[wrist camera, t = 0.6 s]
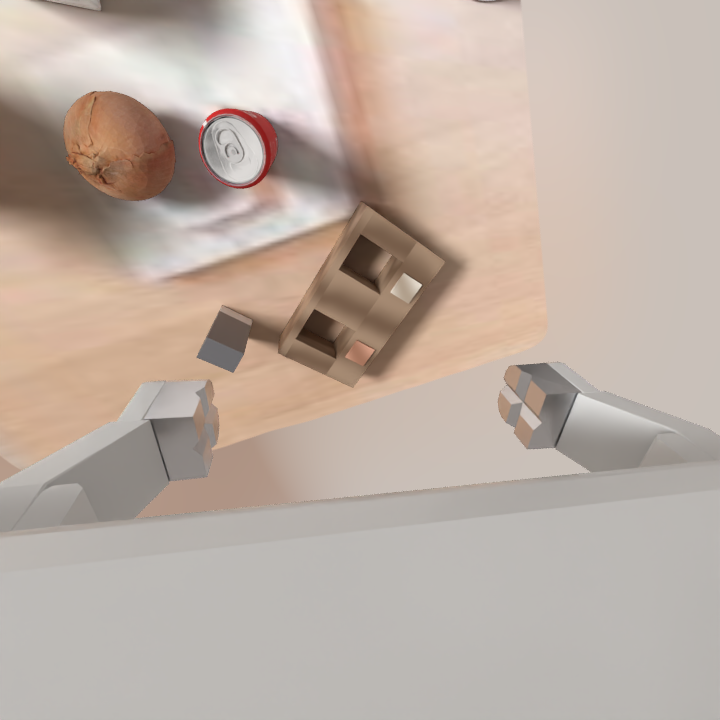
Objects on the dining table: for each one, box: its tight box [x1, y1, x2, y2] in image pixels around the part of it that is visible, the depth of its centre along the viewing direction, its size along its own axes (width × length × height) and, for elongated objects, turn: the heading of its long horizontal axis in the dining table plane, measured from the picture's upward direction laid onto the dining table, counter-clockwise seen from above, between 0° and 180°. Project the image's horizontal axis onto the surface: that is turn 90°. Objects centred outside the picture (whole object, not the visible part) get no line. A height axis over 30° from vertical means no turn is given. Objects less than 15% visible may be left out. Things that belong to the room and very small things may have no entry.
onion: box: [63, 91, 176, 201], centre depth 36 cm, size 10×9×10 cm
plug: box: [197, 305, 253, 372], centre depth 47 cm, size 3×4×10 cm, turn 56°
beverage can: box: [199, 109, 278, 189], centre depth 35 cm, size 6×6×15 cm
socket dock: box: [278, 201, 445, 388], centre depth 50 cm, size 22×12×5 cm, turn 146°
